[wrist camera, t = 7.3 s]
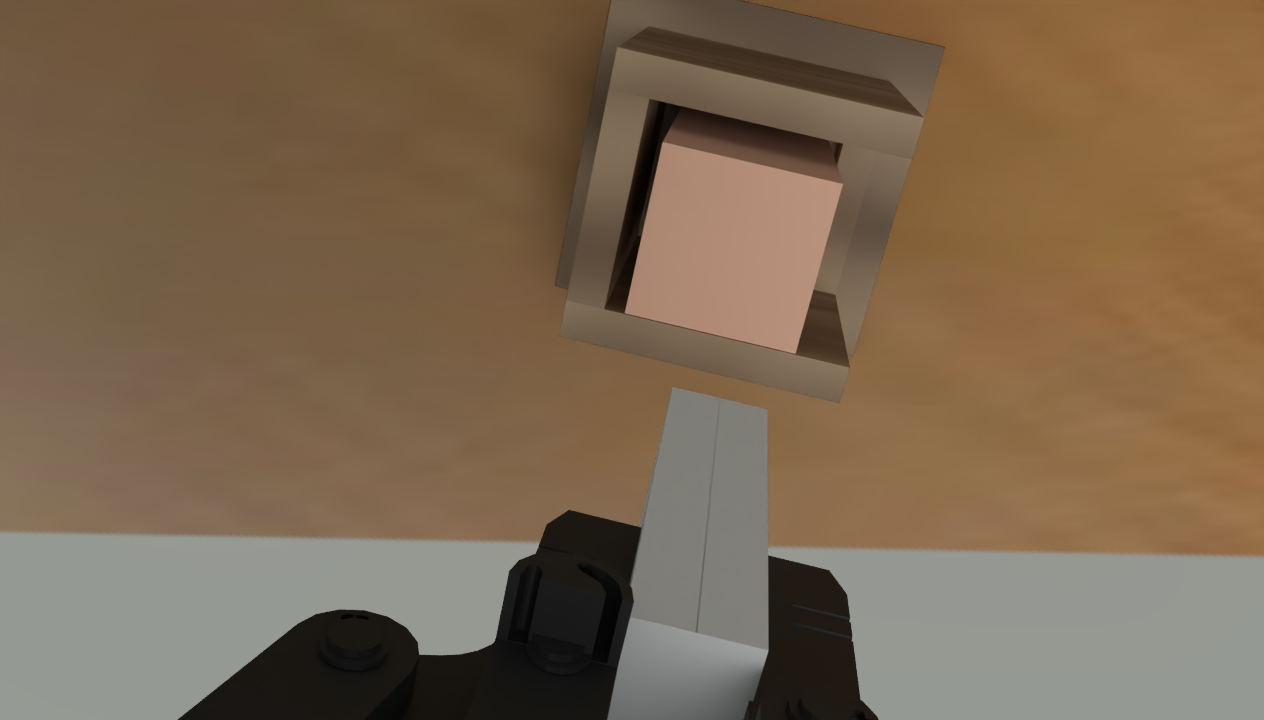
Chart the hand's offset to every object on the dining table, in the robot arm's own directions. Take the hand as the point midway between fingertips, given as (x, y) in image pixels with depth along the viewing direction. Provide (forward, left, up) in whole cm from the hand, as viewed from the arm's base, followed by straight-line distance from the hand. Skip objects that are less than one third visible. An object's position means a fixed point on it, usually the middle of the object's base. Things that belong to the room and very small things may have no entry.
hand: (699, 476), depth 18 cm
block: (0, 0, -27) cm, 27 cm away
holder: (0, 0, -27) cm, 27 cm away
